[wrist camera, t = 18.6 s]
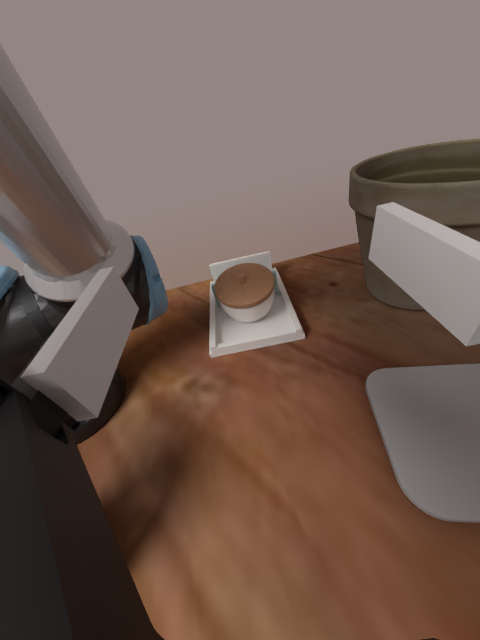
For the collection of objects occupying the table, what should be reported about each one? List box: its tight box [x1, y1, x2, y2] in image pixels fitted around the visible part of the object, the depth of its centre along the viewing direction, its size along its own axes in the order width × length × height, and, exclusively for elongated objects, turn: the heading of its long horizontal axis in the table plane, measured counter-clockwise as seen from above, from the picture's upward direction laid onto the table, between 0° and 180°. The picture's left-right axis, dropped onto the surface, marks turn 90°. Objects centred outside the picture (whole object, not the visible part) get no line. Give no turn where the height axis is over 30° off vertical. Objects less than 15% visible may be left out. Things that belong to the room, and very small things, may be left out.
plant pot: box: [349, 139, 480, 310], centre depth 40 cm, size 25×25×22 cm
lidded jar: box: [214, 263, 275, 322], centre depth 45 cm, size 11×11×9 cm
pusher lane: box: [209, 251, 305, 358], centre depth 49 cm, size 22×17×7 cm
